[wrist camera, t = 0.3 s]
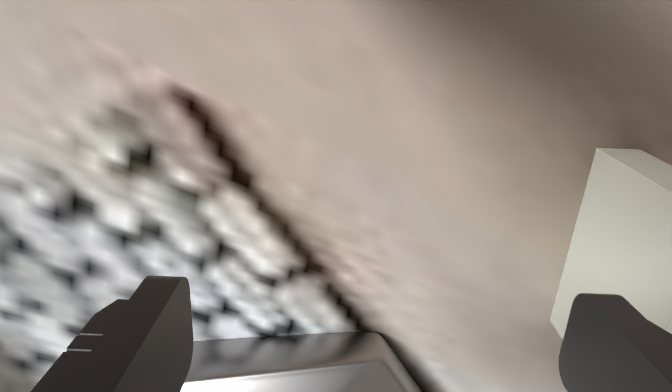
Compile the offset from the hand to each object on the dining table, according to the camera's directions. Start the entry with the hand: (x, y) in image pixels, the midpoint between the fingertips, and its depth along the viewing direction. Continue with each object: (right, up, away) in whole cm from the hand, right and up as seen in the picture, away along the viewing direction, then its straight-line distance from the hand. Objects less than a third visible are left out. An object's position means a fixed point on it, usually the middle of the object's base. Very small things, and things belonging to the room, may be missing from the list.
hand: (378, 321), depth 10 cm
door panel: (+15, 0, +19) cm, 24 cm away
